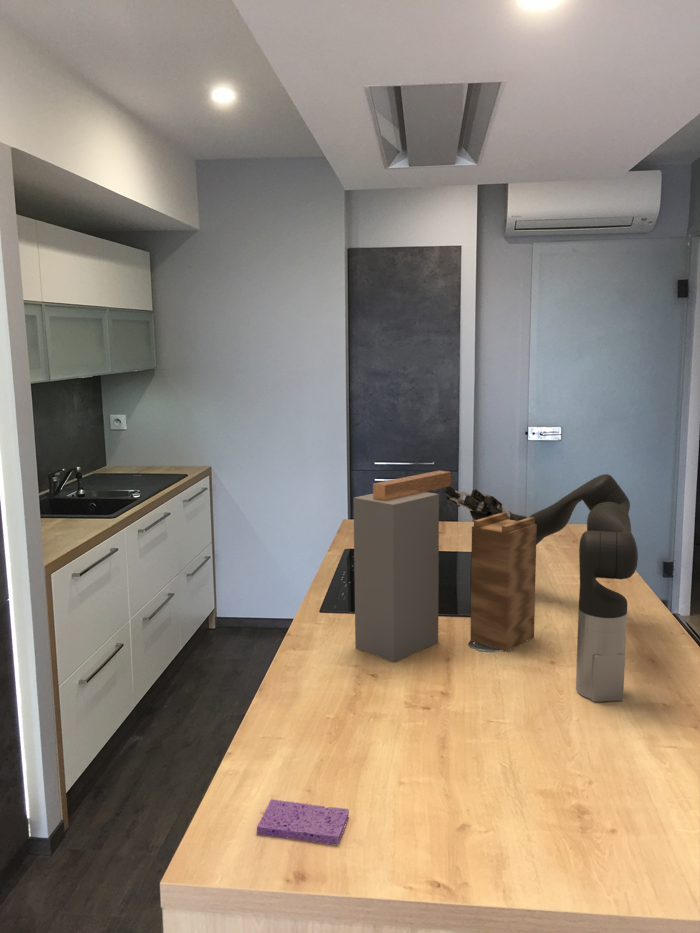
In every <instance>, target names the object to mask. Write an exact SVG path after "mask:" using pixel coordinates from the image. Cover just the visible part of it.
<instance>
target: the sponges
mask: <svg viewBox="0 0 700 933" xmlns="http://www.w3.org/2000/svg"><path fill="white" fill-rule="evenodd" d="M349 811H350V809H349V808H342V807H334V806H329V807H326V806H324V805H317V804H311V803H308V804H307V803H304V802H303V803H302V802H298V801H297V802H294V801H287V800H279V799H274V798H273V799H272V798H271V799H270V800H269V802H268V805H267V806H266V808H265V811H264V813H263V815H262V817H261V819H260V820H259V821H258V824H257V826H256V834H257V833H258V834H257V835H263V834H265V835H264V836H271V835H274V836H273V837H278V836H279V837H278V838H284V837H288V838H287V839H291V838H294V839H293V840H298V839H300V840H299V841H305V840H307V841H306V842H314V841H315V842H314V843H318V842H321V843H320V844H325V843H329V844H328V845H332V844H339V845H340V842H339V841H341V839H342V836H343V834H342V832H343V833H344V831H345V828H344V826H345V824H346V825H347V823H346V821H347V822H348V820H349V817H348V816H350V815H349V813H350V812H349ZM347 819H348V820H347ZM345 827H346V826H345ZM343 830H344V831H343ZM340 838H341V839H340Z"/></svg>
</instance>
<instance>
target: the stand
mask: <svg viewBox="0 0 700 933" xmlns="http://www.w3.org/2000/svg"><path fill="white" fill-rule="evenodd" d="M439 520H440V493H434V492H430V491H427V492H422V493H418V494H413V495H409V496H404V497H400V498H395V499H391V500H386V501H383V500H377V499H373V493H369V494H365V495H360V496H354V497H353V560H354V563H353V564H354V565H353V566H354V569H353V570H354V571H353V573H354V577H353V578H354V632H355V634H354V637H355V638H354V640H355V642H354V644H355V649H357V650H360V651H362V652H365V653H368V654H370V655H372V656H375V657H378V658H381V659H384V660H387V661H389V662H392V663H396V662H398V661H401V660H402V659H404V658H407V657H409V656H411V655H413V654H416V653H418V652H420V651H422V650H424V649H426V648H430V647H431V646H433V645H436V644H437V643H439V589H440V588H439V583H440V580H439V579H440V578H439V577H440V576H439V571H440V570H439V568H440V567H439V566H440V565H439V562H440V560H439V558H440V557H439V553H440V552H439V550H440V549H439V548H440V542H439V541H440V537H439V536H440V534H439V533H440V530H439V529H440V528H439V527H440V521H439Z"/></svg>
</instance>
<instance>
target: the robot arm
mask: <svg viewBox="0 0 700 933" xmlns="http://www.w3.org/2000/svg"><path fill="white" fill-rule="evenodd" d="M442 492H443V494H445V498H444V499H445V500H446V501H448V502H450V503H451V504H453V505H455V507H463V508H465V509H466V510H469V512H470V513H469V514H470V516H471V517H472V519H473V521H475V520H478V519H482V518H485V517H489V516H492V515H496V514H499V513H507V519H509V520H515V521H519V520H522V519H526V518H529V517H533V518H535V524H537V536H536V546H537V545H538V544H539V543H540V542H542V540H544V538H546V537H549V536H551V535H553V534H556V533H558V532H560V531H562V530H563V529H564V528H565V527H566V526H567V525H568V523H569V521H570V519H571V517H572V514H573V513H574V510H575V508H576V507H577V505H578V504H579V503H580V502H582V501H583V503H584V504H585V506H586V507H587V509H588V510H589V512H588V515H587V518H586V531H584V532H583V533H582V535H581V537H580V539H579V546H578V548H579V549H578V552H579V553H578V554H579V556H578V559H579V560H578V561H579V562H578V563H579V564H578V565H579V566H578V567H579V596H578V618H577V620H578V621H577V638H576V639H577V641H576V642H577V645H576V647H577V648H576V676H575V678H576V679H575V690H576V692H577V694H579V695H581V696H583V697H584V698H587V699H590V700H591V702H595V703H596V702H615V701H616V702H617V701H618V702H619V701H624V688H625V670H626V669H625V668H626V667H625V665H626V645H627V643H626V641H627V626H628V625H627V620H628V600H627V598H626V597H625V596H624V595H622V593H619V592H617V591H615V590H613V589H610V588H608V587H606V586H604V585H603V584H601V583H600V582H599V581H598V580H597V579H611V580H625V579H626V580H627V579H630V578H632V576H633V575H634V574H635V572H636V570H637V567H638V563H639V562H638V561H639V554H638V546H637V542H636V540H635V537H634V535H633V533H632V525H631V520H630V516H629V512H630V507H631V503H630V500H629V498H628V496H627V495H626V494H625V491H624V490H623V489H622V488H621V486H620V485H619V483H618V482H617V481H616V479H615V478H614V477H613V476H612V475H610V474H608V473H607V474H605V473H603V474H601V475H597V476H595V477H593V478H592V479H591V480H589V481H587V482H585V483H583V484H582V485H581V486H579V487H577V488H575V489H574V490H573V491H571V492H570V493H568V494H567V495H565V496H563V497H562V498H561V499H559V500H557V501H556V502H555V503H553V504H550V505H549V506H547V507H545V508H543V509H541V510H538V511H537V512H534V513H532V514H530V515H529V516H528V517H527V516H526V515H520V514H516V513H513V512H511V511H509V510H508V509H507V508H506V507H505V505H504V504H503V503H501V501H499V500H498V499H497V498H495V496H493V495H489V494H486V493H481V491H479V490H478V489H475V488H473V489H472V492H471V493H468V492H465V491H461V492H460V491H458V490H456V489H455V488H453V487H452V486H449V487H444V488H443V491H442ZM464 496H465V498H464ZM463 498H464V499H463Z"/></svg>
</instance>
